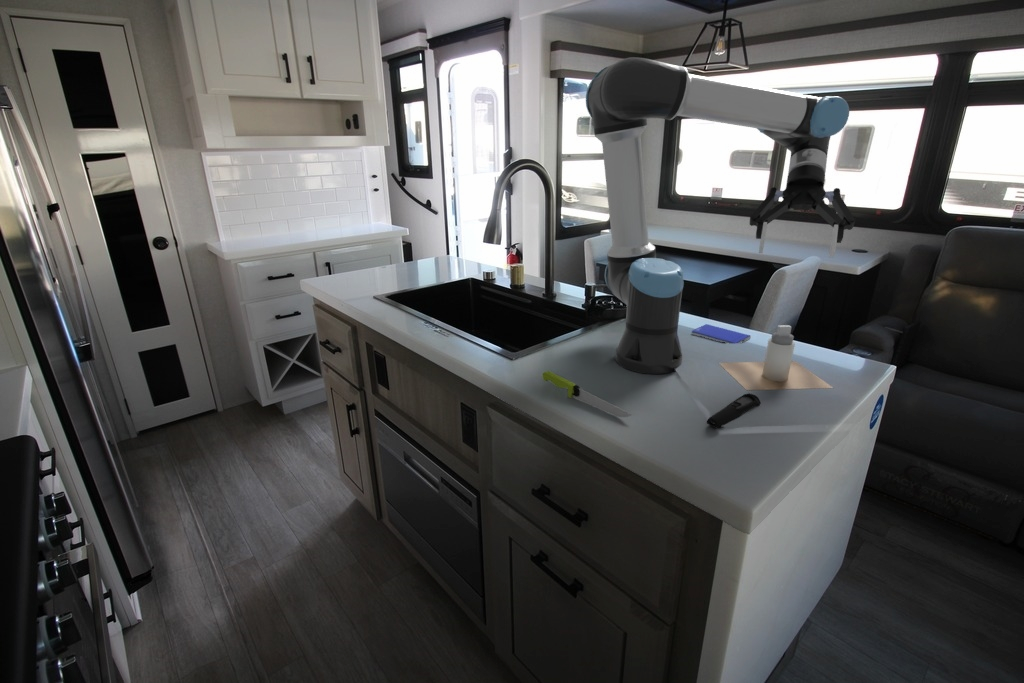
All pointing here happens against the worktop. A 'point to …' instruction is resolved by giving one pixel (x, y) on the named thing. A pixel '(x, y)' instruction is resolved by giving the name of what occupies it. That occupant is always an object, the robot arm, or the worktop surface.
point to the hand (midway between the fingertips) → (795, 251)
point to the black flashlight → (733, 410)
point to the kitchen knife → (583, 395)
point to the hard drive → (720, 334)
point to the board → (753, 380)
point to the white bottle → (779, 354)
